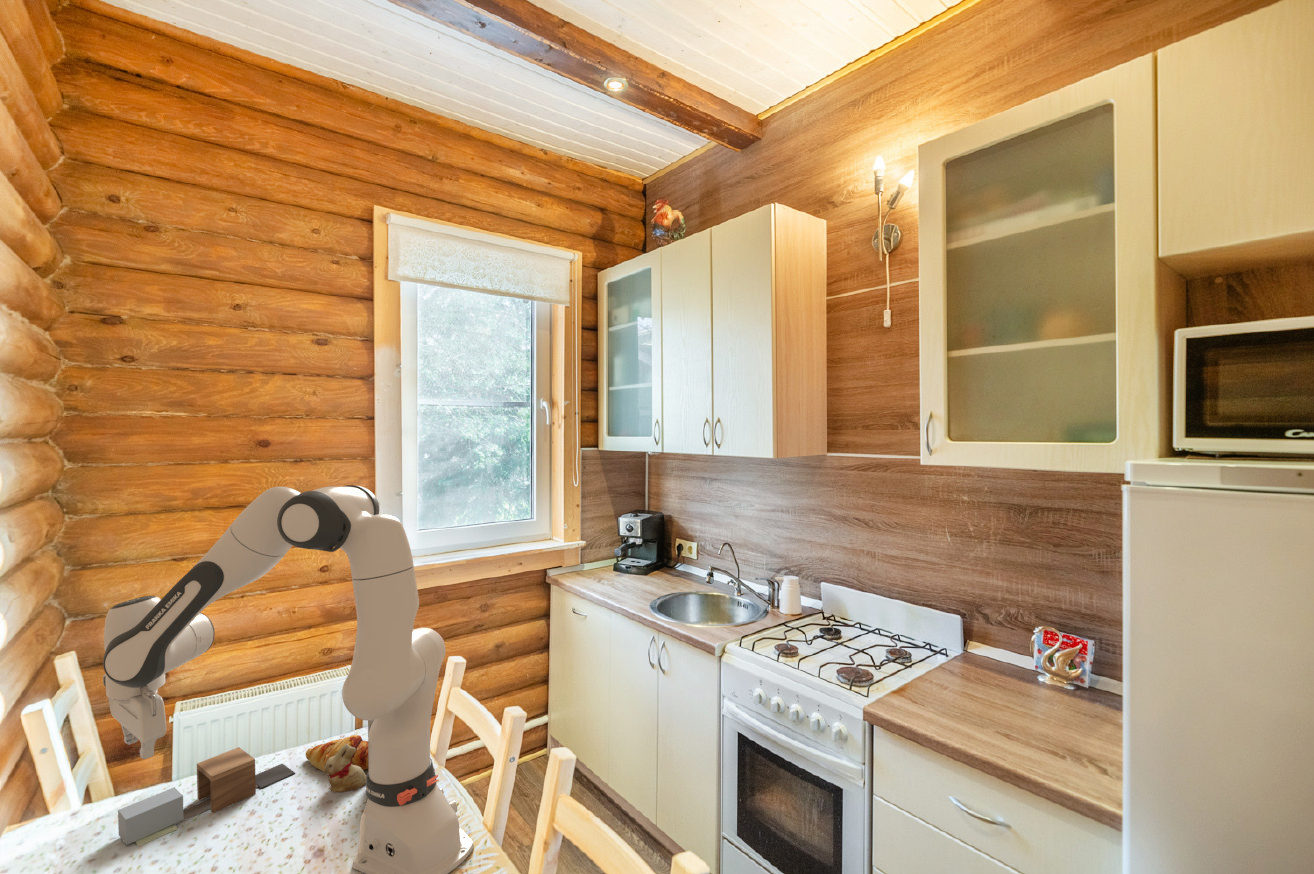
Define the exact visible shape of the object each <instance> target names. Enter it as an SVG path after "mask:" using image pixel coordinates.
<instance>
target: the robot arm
mask: <svg viewBox="0 0 1314 874" xmlns="http://www.w3.org/2000/svg"><path fill="white" fill-rule="evenodd" d="M378 500H379V499H377V496H376V495H375V494H374V493H373V492H372V491H370V490H369V489H368V488H366V487H364V486H360V485H356V484H355V485H353V484H347V485H341V486H334V485H333V486H324V487H320V488H316V489H313V490H305V491H303V492H300V491H298V490H297V489H294V488H291V487H287V486H279V485H278V486H273V487H270V488H268V489H267V490H264V491H263V492H262V493H261V494H259V495H258V496H257V497H256V498H255V499H254V500H253V501H251V503H249V504H248V505H247V506H246V507H245V508H244V509H243V510H242V511H241V513H239V515H238V516H237V517H236V518H235V519H234V520H233V522H232V523H231V524H230V525H229V527H228V528H227V529H226V530H225V532H224V533H223V534H222V535H221V536H220V537H219V538H218V540H217V541H216V542H215V543H214V544H213V545H212V547H211V548H210V549H209V550H208V551H207V552H205V554H204V556H202V557H201V558H200V559H199V560H198V561H197V562H196V564H194V566H193V567H192V568H191V569H189V571H188V572H187V573H186V574H184V575H183V577H181V578H180V580H179V581H177V582H176V584H174V586H172V587H171V589H170V590H169V591H168V592H167V593H166V594H165V595H164V596H163V597H162V598H160V597H158V596H156V595H146V596H145V595H144V596H141V597H135V598H132V599H129V600H125V601H123V602H119V603H117V604H115V605H113V606H112V607H110V608H109V610H108V612H107V614H106V617H105V622H104V632H103V644H104V645H103V646H104V647H103V648H104V654H103V660H102V666H103V670H104V672H105V674H103V675H102V684H103V686H104V687H105V695H106V697H107V699H108V704H109V705H108V706H109V712H110V714H111V716H112V717H113V718H114V720H116V721H117V722H118V723H119V724H120V727H121V729H122V733H123V739H124V740H123V742H124V743H125V744H127V745H129V746H130V745H132V744H136V743H137V742H138V741H139V743H140V748H139V757H140V758H141V759H142V760H147V759H149V758H153V756H154V755H155V745H156V742H157V740H159V739H161V738H163V737H164V736H165V735H166V734H167V719H166V718H167V717H166V710H165V709H166V708H165V703H164V699H163V698H162V696H161V695H160V694H158V692H159V689H160V688H161V687H163V686H164V685H165V684H166V681H167V680H166V674H167V673H169V672H171V671H172V670H175V669H176V668H177V669H178V668H179V667H181V666H183V665H185V664H187V663H188V662H190V661H192V660H194V659H196V658H198V657H200V656H201V655H203V654H204V653H206V652H208V651H209V649H211V647H212V645H213V643H214V641H215V636H216V634H215V626H214V624H213V622H212V620H211V619H210V618H209V616H207V615H206V614H204V613H202V612H203V611H204V610H205V609H206V608H207V607H208V606H210V605H212V604H213V603H214V602H216V601H218V600H220V599H221V598H222V597H224V596H226V595H229V594H231V593H232V592H235V591H237V590H239V589H241V588H243V587H245V586H247V585H249V584H252V583H253V582H256V581H257V580H259V579H261V578H262V577H264V576H265V575H266V574H268V573H269V572H270V571H271V570H272V569H273V568H275V566H277V565H278V564H279V563H280V561H282V559H283V558H284V557H285V556H286V554H287V553H288V552H289V550H291V548H292V547H296V548H298V549H299V548H300V549H307V550H314V551H315V550H316V551H323V552H327V553H335V552H336V551H339V549H340V550H342V551H343V552H344V553H345V554H346V556H347V557H348V562H349V566H350V573H351V581H352V587H353V594H354V595H353V596H354V602H355V603H354V604H355V610H356V632H355V633H356V634H355V643H354V648H353V649H354V651H353V656H352V661H351V665H350V669H349V671H348V674H347V676H346V678H345V680H344V682H343V685H342V690H341V696H342V702H343V704H344V707H345V709H346V710H347V711H348V712H349V713H350V714H351V715H352V716H353V717H355V718H357V719H359V720H361V721H367V722H368V721H369V720H374V721H373V723H372V725H371V728H370V731H369V736H368V735H367V741H368V760H369V771H368V770H367V773H366V784H365V789H366V790H365V792H366V793H365V794H366V797H367V801H366V804H365V807H364V810H363V812H362V814H361V816H360V825H359V838H358V839H359V841H358V851H357V852H356V854H355V855H354V857H353V860H352V866H351V867H352V868H353V869H354V870H356V871H359V872H361V873H363V874H450V873H451V872H452V871H453V870H455V869H456V868H457V867H459V866H460V865H461V864H462V863H464V861H465V860H466V859H467V858H468V857H469V856H470V854H471V852H472V851H473V849H474V840H472V839H471V837H469V835H468V834H467V833H466V832H465V831H464V829H462V828H461V826H460V822H459V818H458V815H457V812H458V805H457V802H456V801H455V800H451V801H448V799H447V797H446V796H445V794H444V790H443V788H442V787H441V788H440V787H439V786H438V784H437V782H438V781H439V779H437V778H438V777H439V774H436V772H435V771H436V770H435V766H434V764H433V760H432V758H431V720H432V714H433V713H432V712H433V706H434V702H435V697H436V696H435V695H436V691H437V685H438V680H439V674H440V670H441V667H442V664H443V661H444V659H445V657H446V653H447V652H446V651H447V650H446V644H445V640H444V638H443V637H442V636H441V634H439V633H438V631H436V630H434V629H432V628H430V627H418V628H414V626H415V620H416V616H417V613H418V611H419V608H420V597H419V591H418V586H417V579H416V572H415V565H414V560H413V559H414V558H413V554H412V551H411V546H410V543H409V539H408V536H407V534H406V531H405V527H404V525H403V524H402V522H401V521H400V520H399V519H398V518H397V517H395V516H394V515H393V516H392V515H390V514H383V513H382V514H380V502H379V501H378Z"/></svg>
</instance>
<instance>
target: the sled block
mask: <svg viewBox="0 0 1314 874" xmlns="http://www.w3.org/2000/svg"><path fill="white" fill-rule="evenodd" d="M183 810H184V795H183V794H182V793H181V792H180V791H179V790H178V789H177V788H176V787H172V788H169V789H167V790H166V789H165V791H162V792H159V793H157V794H154V795H152V796H149V797H147V798H144V799H141V800H139V801H137V802H134V803H132V804H129V805H127V806H124V807H121V808H119V809H118V810H117V816H118V817H117V820H118V823H117V826H118V829H117V830H118V836H119V837H120V838H121V840H122V841H123V843H124V844H125V845H126V846H128V845H130V844H132V843H136V842H135V841H137V840H139V839H142V838H144V837H146V836H148V835H150V834H153V833H155V832H157V831H159V830H162V829H164V828H166V827H168V826H171V825H173V824H175V823H177V822H180V821H182V820H184V815H183ZM184 821H185V820H184ZM182 822H183V821H182ZM180 823H181V822H180ZM175 825H176V824H175Z"/></svg>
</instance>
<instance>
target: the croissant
mask: <svg viewBox="0 0 1314 874" xmlns="http://www.w3.org/2000/svg"><path fill="white" fill-rule="evenodd" d="M345 744H348V745H349V746H351V747H354V748H355V749H356V753H355V754H354V755H353V756H352V757H351V760H350V762H351V764H352V765H356V766H359V767H361V768H362V770H363V771H365V770H368V740H367V741H366V740H363V738H362V737H361V735H359V734H353V735H350V736H346V737H344V738H339V739H334V740H330V741H328V742H325V743H321V744H317V745H315V746H313V747H312V748H308V749H307V750H306V752H305V758H306V759H307V760H308V761H309V764H311V765H312V766H313V767H315V768H316V769H318V770H320V771H322V772H323V773H324V774H326V772H325V765H326V762H327V760H328V759H329V758H331V757H333V756H335V755H336V754H337V753H338V751H339V750H340V749H341V747H342V746H344V745H345Z"/></svg>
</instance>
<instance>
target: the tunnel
mask: <svg viewBox="0 0 1314 874" xmlns="http://www.w3.org/2000/svg"><path fill="white" fill-rule="evenodd" d="M295 774H296V773H295V771H294V770H292V769H291V768H289V767H288V766H286V764H284V763H279V764H278V765H276V766H273V767H270V768H268V769H265V770H263V771H262V772H259V773H257V774H256V759H255V758H254V757H253V756H252V755H250V754H249V753H248V752H246V751H245V750H244V749H242V747H239V746H238V747H236V748H233V749H231V750H228V751H225V752H222V753H220V754H218V755H215V756H213V757H209V758H207V759H205V760H203V761H199V762H197V763H196V784H197V785H196V786H197V787H196V788H197V789H196V791H197V795H196V796H197V800H198V801H200V802H198V803H196V804H193V805H191V806H189V807H187V808H185V809H184V808H183V815H184V820H182V821H180V822H177V823H175V824H173V825H171V826H168V827H166V828H164V829H162V830H159V831H157V832H155V833H153V834H150V835H148V836H146V837H144V838H142V839H139V840H137V841H135V842H134V843H135V844H136V845H137V846H138V847H141V846H143V845H145V844H148V843H150V842H153V841H154V840H156V839H159V838H160V837H162V836H166V835H167V834H170V833H171V832H174V831H176V830H178V826H176V825H177V824H179V823H182V822H184V821H186V820H188V819H189V820H190V818H193V817H195V816H197V815H200V814H202V813H204V812H207V811H209V810H210V812H211V813H212V814H215V813H217V812H220V811H222V810H224V809H225V808H228V807H230V806H232V805H234V804H236V803H239V802H241V801H243V800H244V801H245V799H248V798H250V797H252V796H254V795H257V792H256V791H257V790H256V789H257V788H259V789H261V790H263V789H264V788H267V787H268V786H270V785H273V784H275V783H277V782H281V781H282V780H285V779H286V778H288V777H291V776H293V775H295ZM206 798H207V799H206ZM204 799H205V800H204ZM202 800H203V801H202Z"/></svg>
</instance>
